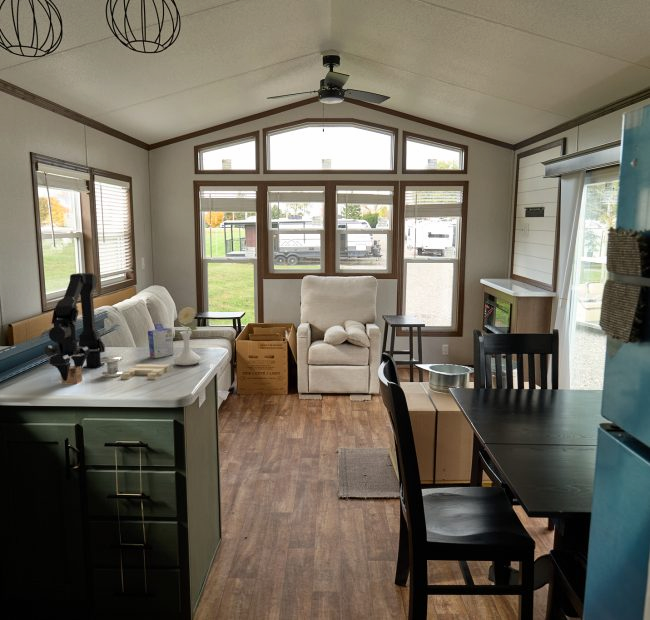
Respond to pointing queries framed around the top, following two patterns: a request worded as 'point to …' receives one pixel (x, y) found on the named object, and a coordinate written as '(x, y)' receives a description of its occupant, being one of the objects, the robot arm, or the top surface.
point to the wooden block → (73, 375)
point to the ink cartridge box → (160, 342)
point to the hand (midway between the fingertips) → (71, 377)
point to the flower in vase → (187, 338)
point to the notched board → (146, 370)
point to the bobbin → (112, 366)
